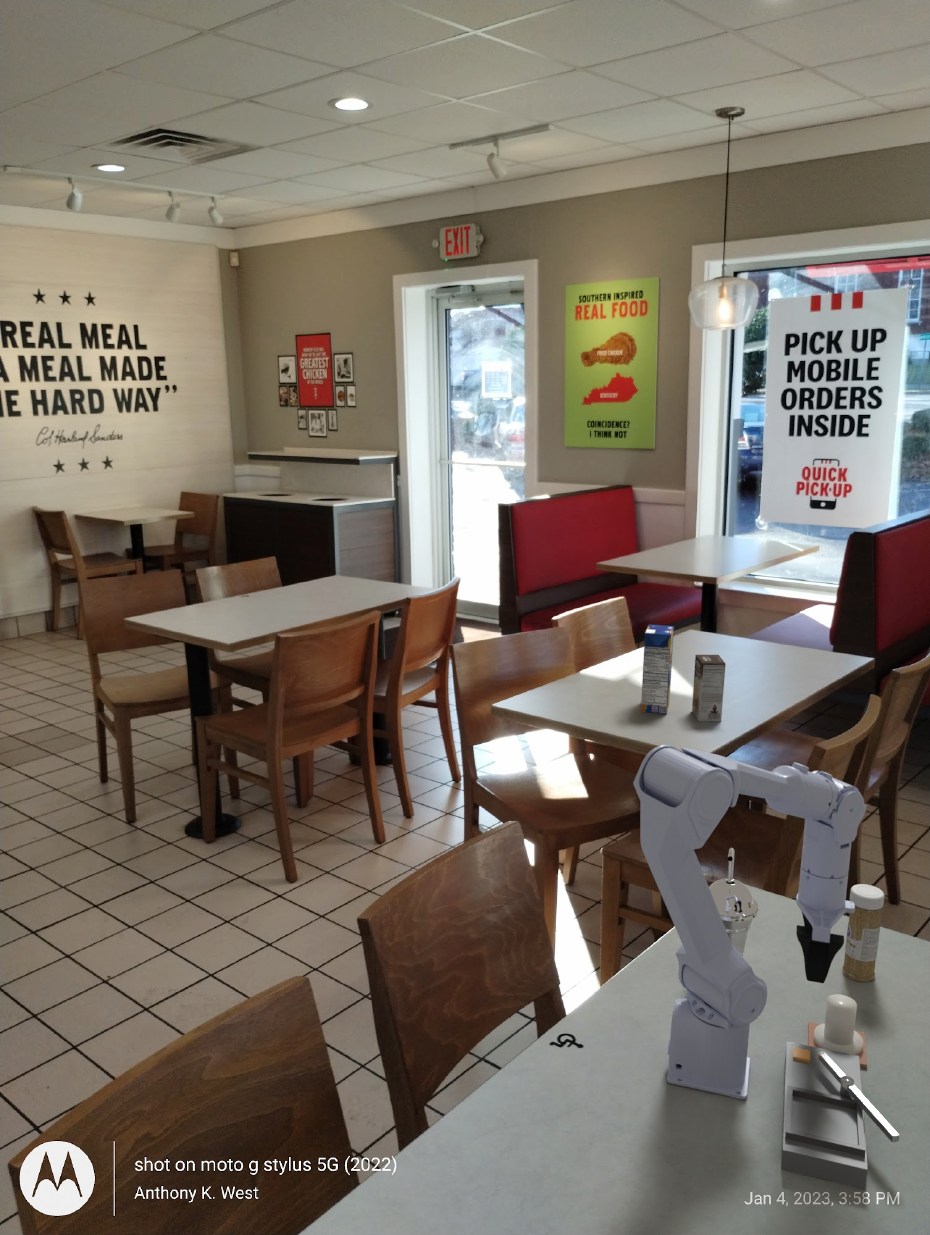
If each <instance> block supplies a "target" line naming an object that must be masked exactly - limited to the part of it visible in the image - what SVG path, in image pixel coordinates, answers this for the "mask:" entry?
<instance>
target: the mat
mask: <svg viewBox="0 0 930 1235" xmlns="http://www.w3.org/2000/svg"><path fill="white" fill-rule="evenodd" d="M820 1024H821V1023H817V1022H812V1021H808V1025H807V1026H808V1028H807V1029H808V1034H807V1035H808V1038H807V1043H808V1045H807V1046H812V1047H817V1048H819V1047H818V1046H817V1045H816V1044H815V1042H814V1030H815V1028H816V1027H817V1026H818V1025H820ZM855 1031H856V1032H857V1033H858V1034H859V1035H860V1036H861V1037H862V1039H863V1048H862V1052H861V1053H860V1054H859V1055H858V1056H859V1062H860V1068H863V1069H867V1068H868V1060H867V1049H866V1038H865V1036H866V1035H865V1032H863V1031H857V1030H855Z"/></svg>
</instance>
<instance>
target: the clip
mask: <svg viewBox="0 0 930 1235" xmlns="http://www.w3.org/2000/svg"><path fill="white" fill-rule="evenodd" d="M818 1059H819V1060H820V1061H821V1062H822V1064H823V1065H824V1066H825V1067H826V1068H827V1069H828V1070H829V1072H830V1073H831V1074H832V1075H833V1076H834V1077H835V1078H836V1079H837V1081H838V1082H839V1083H840V1084H841V1086H840V1095H841V1096H842V1097H845V1098H849V1099H851V1098H853V1099H854V1100H855V1101H856V1102H857V1103H858V1104H859V1106H860V1107H861V1108H862V1109H863V1112H864V1113H866V1115H867V1116H868V1117H869V1118H870V1119H871V1120H872V1121H873V1122H874V1123H875V1125H876V1127H878V1128H879V1129H880V1131H881V1132H882V1133H883V1134H884V1135H885V1137H887V1138H888V1140H889V1141H890V1142H891V1143H898V1142H899V1140H900V1134H899V1133H898V1132H897V1131H896V1130H895V1129H894V1127H893V1126H892V1125H891V1124H890V1123H889V1122H888V1121H887V1119H885V1117H884V1116H883V1115H882V1114H881V1113H880V1112H879V1110H878V1109H877V1108H875V1106H874V1105H873V1104H872V1103H871V1102H870V1101H869V1099H868V1098H867V1097H865V1095H864V1094H863V1092H862V1093H861V1092H860V1091H859V1090H858V1089H857V1087H856V1086H855V1085H854V1080H853V1078H851V1077H849V1076H846V1075H845V1074H844V1073H843V1072H842V1071H841V1070H840V1069H839V1067H838V1066H837V1065H836V1064H835V1063H834V1062H833V1061H832V1060H831V1059H830V1057H829V1056H828V1055H827V1054H826V1053H825V1052H818Z"/></svg>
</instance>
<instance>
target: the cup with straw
mask: <svg viewBox="0 0 930 1235" xmlns="http://www.w3.org/2000/svg"><path fill="white" fill-rule="evenodd" d="M727 861H728V865H727V866H728V869H727V877H726V878H720V879H718V880H715V881H714V882H713V883H711V884H710V885H709V889H710V891H711V894H712V896H713V899H714V901H715V904H716V906H717V909H718V911H719V914H720V916H721V919H722V921H723V924H724V926H725V929H726V931H727V934H728V936H729V939H730V941H731V944H732V945H733V947H734V948H735V949H736V950H737V951H738V952H739V953H740V954H741V956H742V957H743V958H744V952H745V947H746V943H747V939H748V938H747V937H748V933H749V932H748V931H749V930H750V927H751V924H752V922H753V919H755V918H756V917H758V914H759V912H760V909H759V905H758V902H757V901H756V900H755V899H754V898H753V895H752V893H751V890H750V889H749V888H748V887H747V885H746V884H744V883H743V882H741V881H739V880H738V879H735V878H733V877H734V864H735V849H734V848H733V847H730V848H729V849H728V855H727Z"/></svg>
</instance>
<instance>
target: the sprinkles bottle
mask: <svg viewBox="0 0 930 1235" xmlns="http://www.w3.org/2000/svg"><path fill="white" fill-rule="evenodd" d="M849 901H852V902H854V904H855V912H854V913H849V914H848V915H849V917H848V924H847V930H846V939H845V940H846V941H845V947H844V948H845V949H844V951H845V952H844V961H843V965H842V972H843V974H844V975H845V976H846V977H847V978H849V979H851V980H854V981H857V982H869V981H872V980H874V979H875V976H876V973H875V969H876V962H877V961H876V960H877V956H878V948H879V941H880V933H881V919H882V909H883V907H884V904H885V903H884V902H885V893H884V891H883V890H882V889H880V888H879V887H877V886H875V885H870V884H865V883H859V884H855V885H853V886H852V887H851V888H850V893H849Z"/></svg>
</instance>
